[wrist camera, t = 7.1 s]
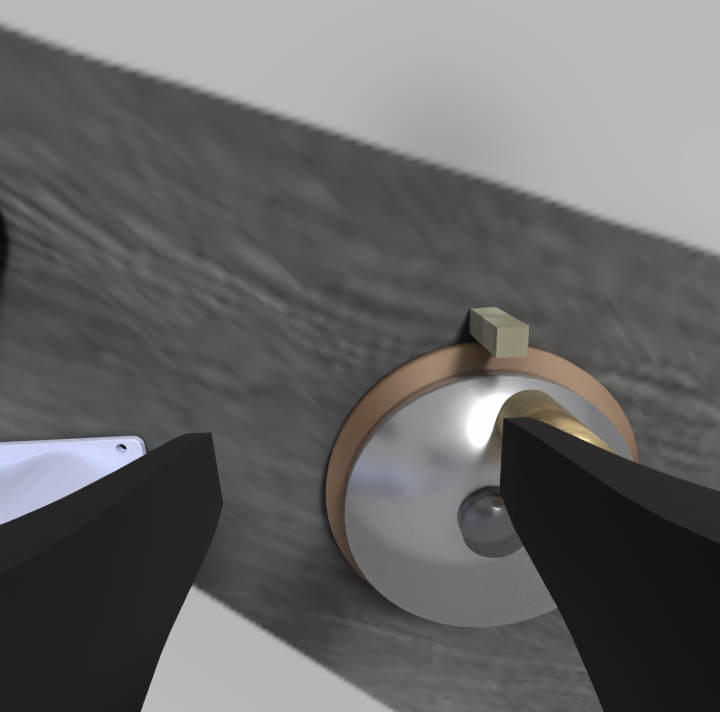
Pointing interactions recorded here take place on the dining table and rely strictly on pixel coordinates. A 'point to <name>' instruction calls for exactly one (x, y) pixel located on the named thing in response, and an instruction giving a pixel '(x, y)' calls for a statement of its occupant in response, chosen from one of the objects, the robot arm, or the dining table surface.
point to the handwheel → (456, 496)
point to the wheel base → (491, 351)
